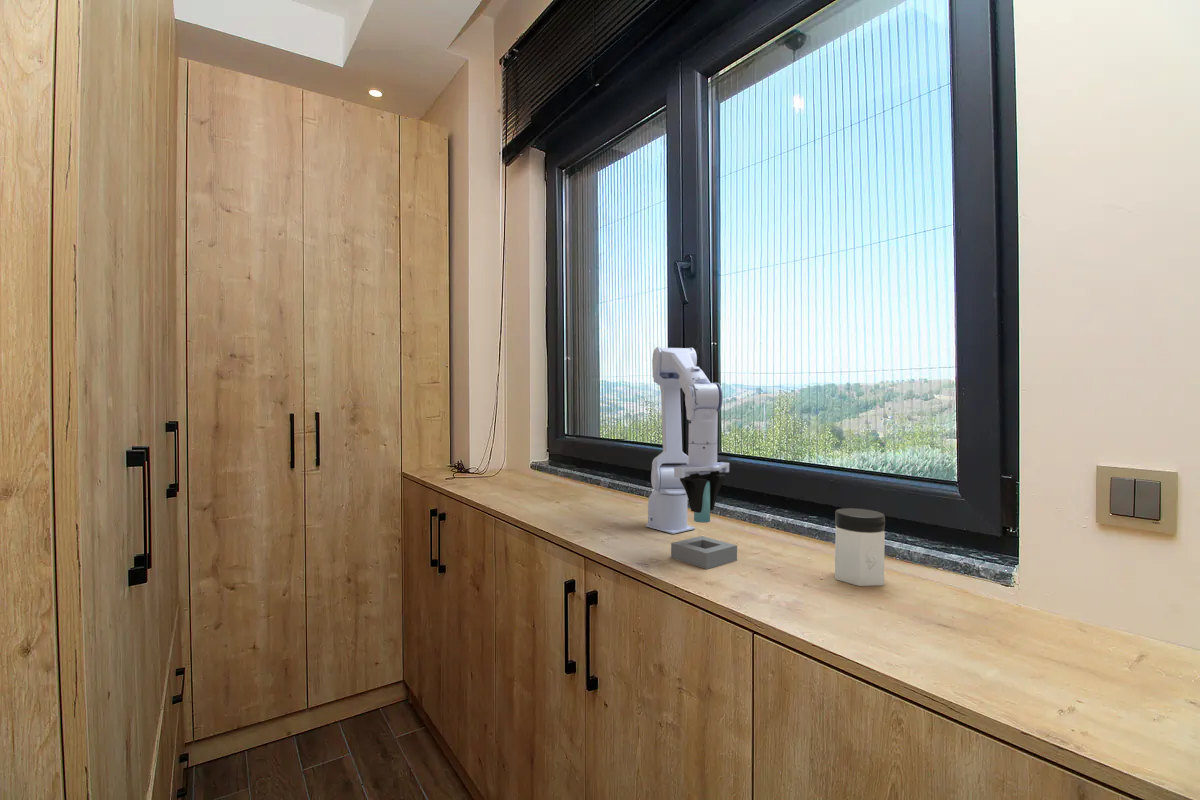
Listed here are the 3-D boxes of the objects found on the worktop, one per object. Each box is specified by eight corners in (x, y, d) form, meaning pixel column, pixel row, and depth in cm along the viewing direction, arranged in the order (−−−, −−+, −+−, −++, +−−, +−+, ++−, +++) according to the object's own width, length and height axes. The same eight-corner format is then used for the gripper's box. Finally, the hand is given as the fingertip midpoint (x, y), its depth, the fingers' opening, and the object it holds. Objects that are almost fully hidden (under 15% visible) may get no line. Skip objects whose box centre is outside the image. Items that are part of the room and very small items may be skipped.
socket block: (671, 557, 114) (671, 542, 114) (701, 550, 120) (701, 535, 119) (706, 569, 107) (706, 553, 107) (736, 560, 112) (737, 545, 112)
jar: (848, 587, 97) (849, 518, 97) (823, 572, 105) (824, 508, 105) (896, 585, 98) (897, 517, 98) (868, 571, 106) (869, 507, 106)
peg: (690, 520, 114) (690, 480, 114) (701, 518, 116) (701, 479, 116) (702, 523, 111) (702, 482, 111) (713, 521, 113) (713, 481, 113)
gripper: (693, 446, 106) (693, 518, 106) (741, 442, 115) (740, 509, 115) (666, 443, 111) (665, 512, 111) (714, 440, 120) (713, 504, 121)
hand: (702, 510), depth 114 cm, fingers closed on peg, 3 cm apart
